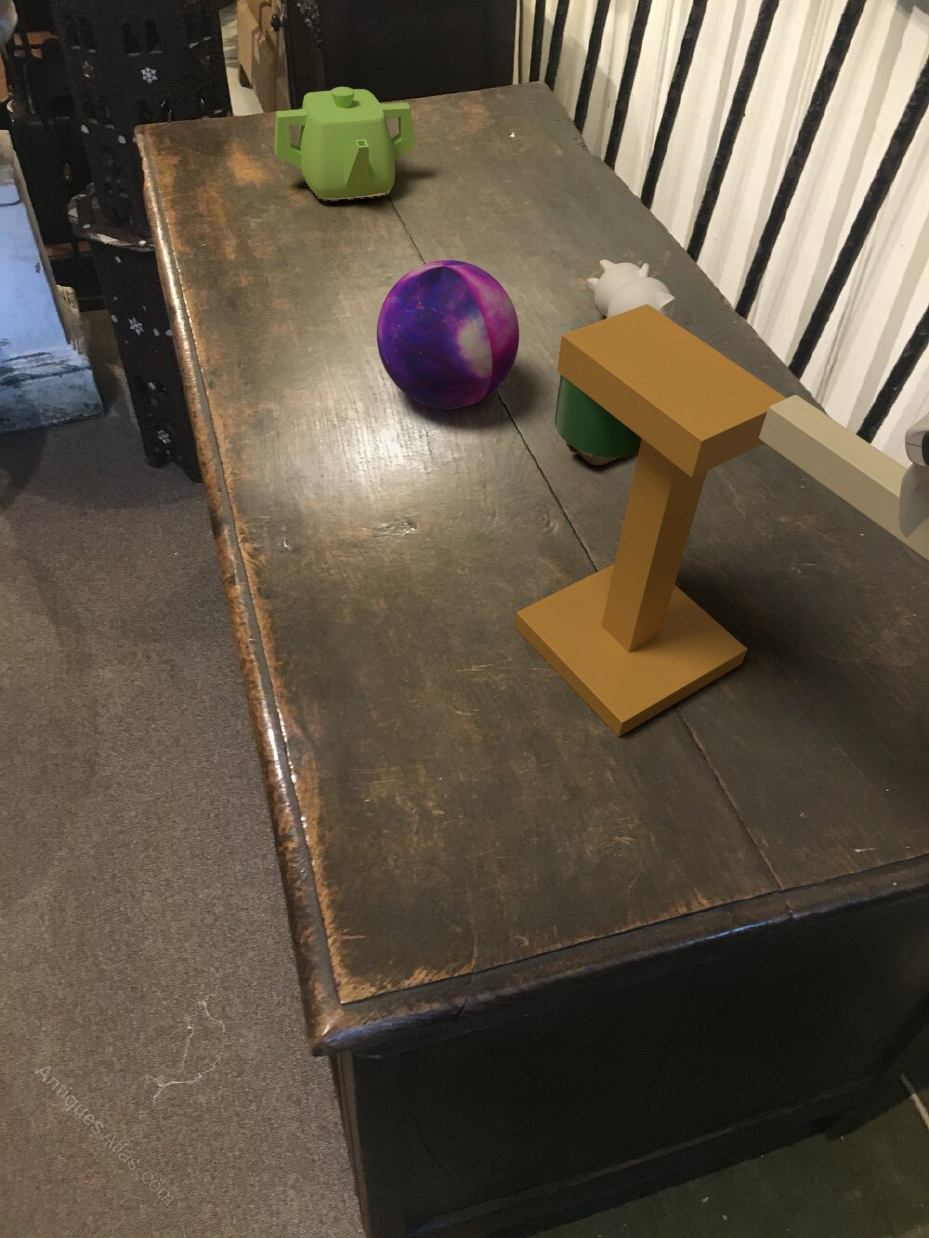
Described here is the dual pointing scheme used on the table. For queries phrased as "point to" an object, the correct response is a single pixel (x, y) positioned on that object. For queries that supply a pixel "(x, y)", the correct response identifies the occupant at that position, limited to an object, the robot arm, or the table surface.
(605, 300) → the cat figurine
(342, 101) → the teapot
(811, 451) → the switch rod
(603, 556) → the table surface
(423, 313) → the decorative orb
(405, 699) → the table surface
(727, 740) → the table surface
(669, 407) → the desk lamp
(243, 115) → the table surface
